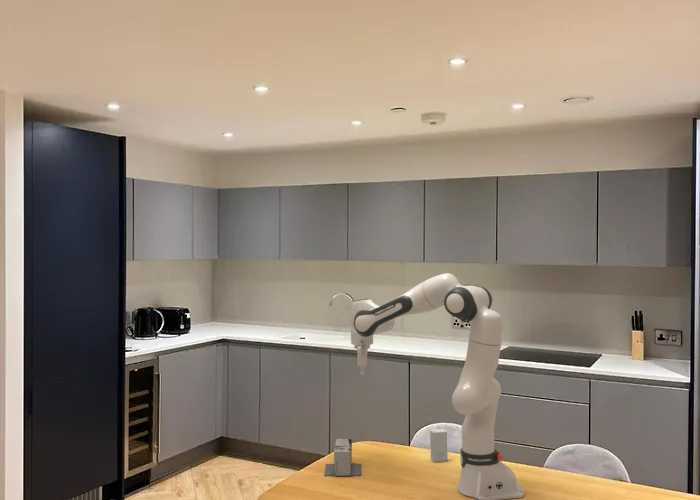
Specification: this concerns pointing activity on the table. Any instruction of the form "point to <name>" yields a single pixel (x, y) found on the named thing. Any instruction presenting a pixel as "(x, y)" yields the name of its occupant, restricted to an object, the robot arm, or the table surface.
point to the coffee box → (342, 457)
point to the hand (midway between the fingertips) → (362, 374)
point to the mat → (354, 472)
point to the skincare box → (438, 445)
